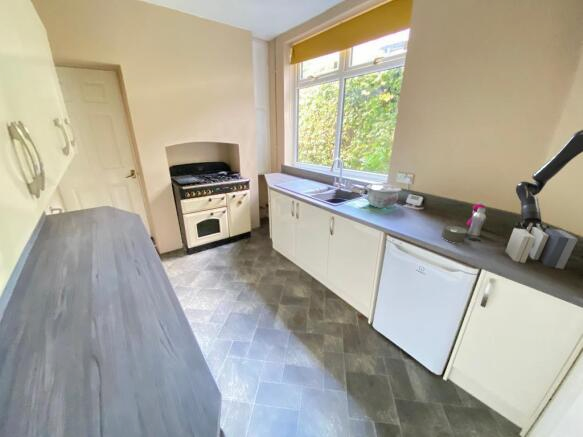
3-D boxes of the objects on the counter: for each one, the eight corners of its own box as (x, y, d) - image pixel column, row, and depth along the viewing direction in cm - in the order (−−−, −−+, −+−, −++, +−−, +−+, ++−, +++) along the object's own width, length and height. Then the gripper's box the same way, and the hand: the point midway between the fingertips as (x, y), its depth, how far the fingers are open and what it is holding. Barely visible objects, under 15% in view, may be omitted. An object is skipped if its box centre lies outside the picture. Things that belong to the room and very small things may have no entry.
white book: (527, 250, 130) (536, 227, 125) (538, 260, 120) (549, 235, 115) (522, 250, 131) (531, 226, 126) (533, 259, 121) (543, 234, 116)
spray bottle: (474, 233, 150) (483, 204, 143) (462, 229, 156) (471, 200, 149) (480, 232, 153) (490, 202, 146) (469, 228, 159) (478, 199, 152)
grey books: (549, 258, 122) (562, 230, 117) (563, 269, 113) (578, 239, 107) (534, 255, 124) (546, 228, 119) (546, 266, 115) (559, 236, 109)
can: (466, 239, 142) (469, 229, 140) (461, 245, 134) (464, 234, 132) (443, 233, 150) (446, 223, 148) (438, 238, 142) (440, 228, 140)
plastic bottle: (464, 239, 142) (474, 208, 135) (466, 236, 147) (475, 205, 139) (477, 243, 138) (488, 211, 131) (479, 239, 142) (489, 208, 135)
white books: (514, 253, 127) (524, 229, 122) (524, 262, 118) (535, 237, 113) (505, 251, 129) (513, 228, 124) (514, 261, 119) (524, 236, 114)
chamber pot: (402, 206, 203) (407, 182, 195) (390, 214, 184) (394, 188, 176) (372, 199, 221) (375, 177, 213) (357, 206, 202) (360, 182, 194)
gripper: (518, 209, 129) (521, 237, 123) (552, 212, 124) (557, 242, 118) (510, 215, 136) (512, 242, 130) (542, 218, 131) (546, 247, 125)
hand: (533, 242), depth 124 cm, fingers open, 5 cm apart
